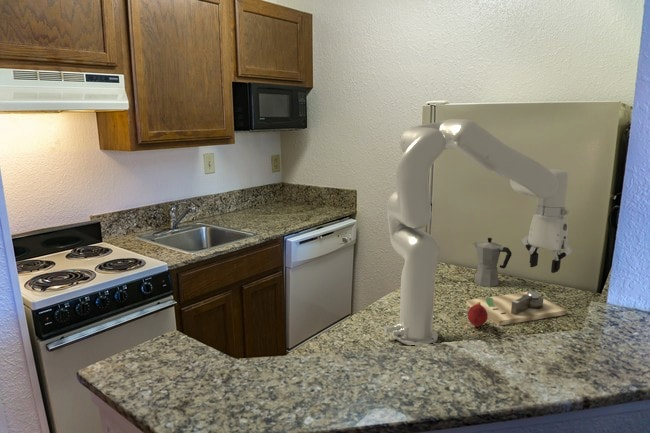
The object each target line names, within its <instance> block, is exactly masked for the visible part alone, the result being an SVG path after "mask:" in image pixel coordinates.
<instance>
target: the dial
mask: <svg viewBox="0 0 650 433" xmlns="http://www.w3.org/2000/svg"><path fill="white" fill-rule="evenodd" d="M526 292H527V294H526V295H523V296H522V297H521V298H519V299H517V300H512V307H511V313H513V314H515V315H516V314H518V313H520V312H522V311H524V310H526V309H528V308H533V309H539V308H542V307H543V300H544V299H545V298H543V297H542V296H540V293H539V292H537V291H533V290H532V291H530V290H529V291H526Z"/></svg>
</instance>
